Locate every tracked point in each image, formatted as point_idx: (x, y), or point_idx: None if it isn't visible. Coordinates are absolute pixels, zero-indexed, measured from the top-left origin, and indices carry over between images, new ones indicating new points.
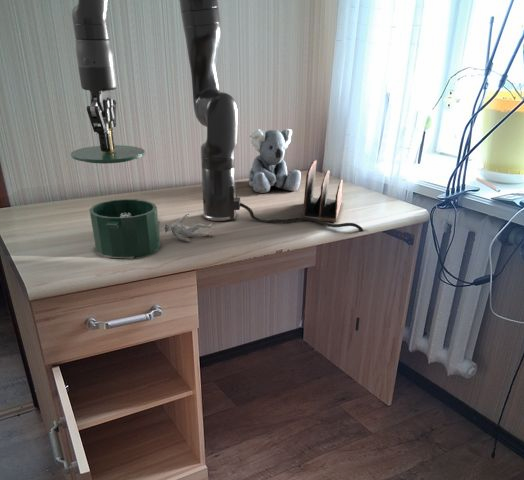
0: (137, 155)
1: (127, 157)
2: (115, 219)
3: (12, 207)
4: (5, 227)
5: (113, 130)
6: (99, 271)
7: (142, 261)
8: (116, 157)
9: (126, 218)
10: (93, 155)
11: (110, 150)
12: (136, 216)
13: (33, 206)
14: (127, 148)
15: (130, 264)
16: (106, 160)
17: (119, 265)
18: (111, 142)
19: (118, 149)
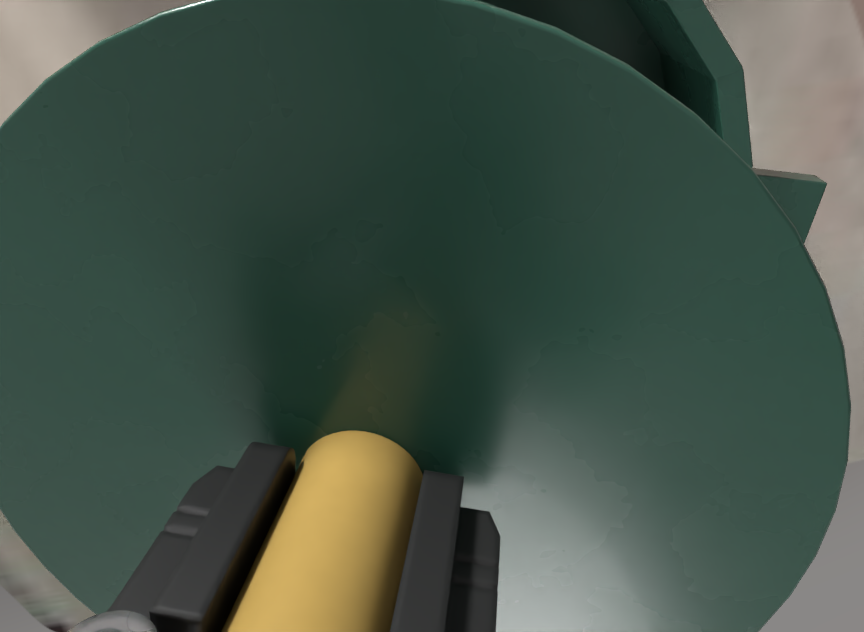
0: (616, 72)
1: (757, 218)
2: None
3: (66, 619)
4: None
5: (125, 621)
6: (818, 219)
7: (729, 16)
8: (727, 366)
9: (746, 128)
10: (558, 594)
11: (445, 473)
12: (731, 54)
13: (33, 567)
14: (103, 291)
15: (760, 79)
16: (843, 459)
17: (761, 136)
18: (355, 524)
19: (194, 390)
